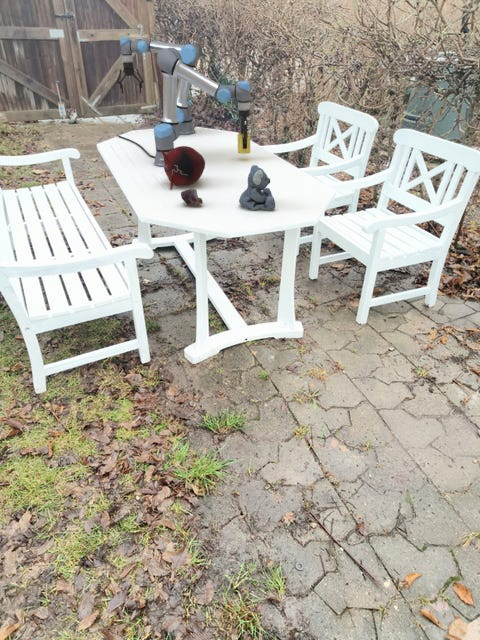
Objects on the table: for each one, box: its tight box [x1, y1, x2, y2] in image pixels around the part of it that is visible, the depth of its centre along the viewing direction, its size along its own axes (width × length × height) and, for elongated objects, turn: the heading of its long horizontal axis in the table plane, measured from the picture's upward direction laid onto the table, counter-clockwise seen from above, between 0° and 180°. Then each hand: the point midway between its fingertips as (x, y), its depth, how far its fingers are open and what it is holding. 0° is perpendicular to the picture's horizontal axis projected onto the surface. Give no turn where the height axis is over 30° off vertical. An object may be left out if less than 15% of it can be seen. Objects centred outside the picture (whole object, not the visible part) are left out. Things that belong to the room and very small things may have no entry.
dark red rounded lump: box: [161, 145, 206, 190], centre depth 255 cm, size 21×24×25 cm
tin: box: [237, 133, 251, 155], centre depth 294 cm, size 8×8×11 cm
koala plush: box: [238, 164, 276, 211], centre depth 224 cm, size 17×18×20 cm
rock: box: [180, 188, 204, 207], centre depth 229 cm, size 12×9×10 cm
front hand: (243, 146), depth 295 cm, fingers closed on tin, 8 cm apart
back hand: (131, 93), depth 349 cm, fingers open, 13 cm apart
